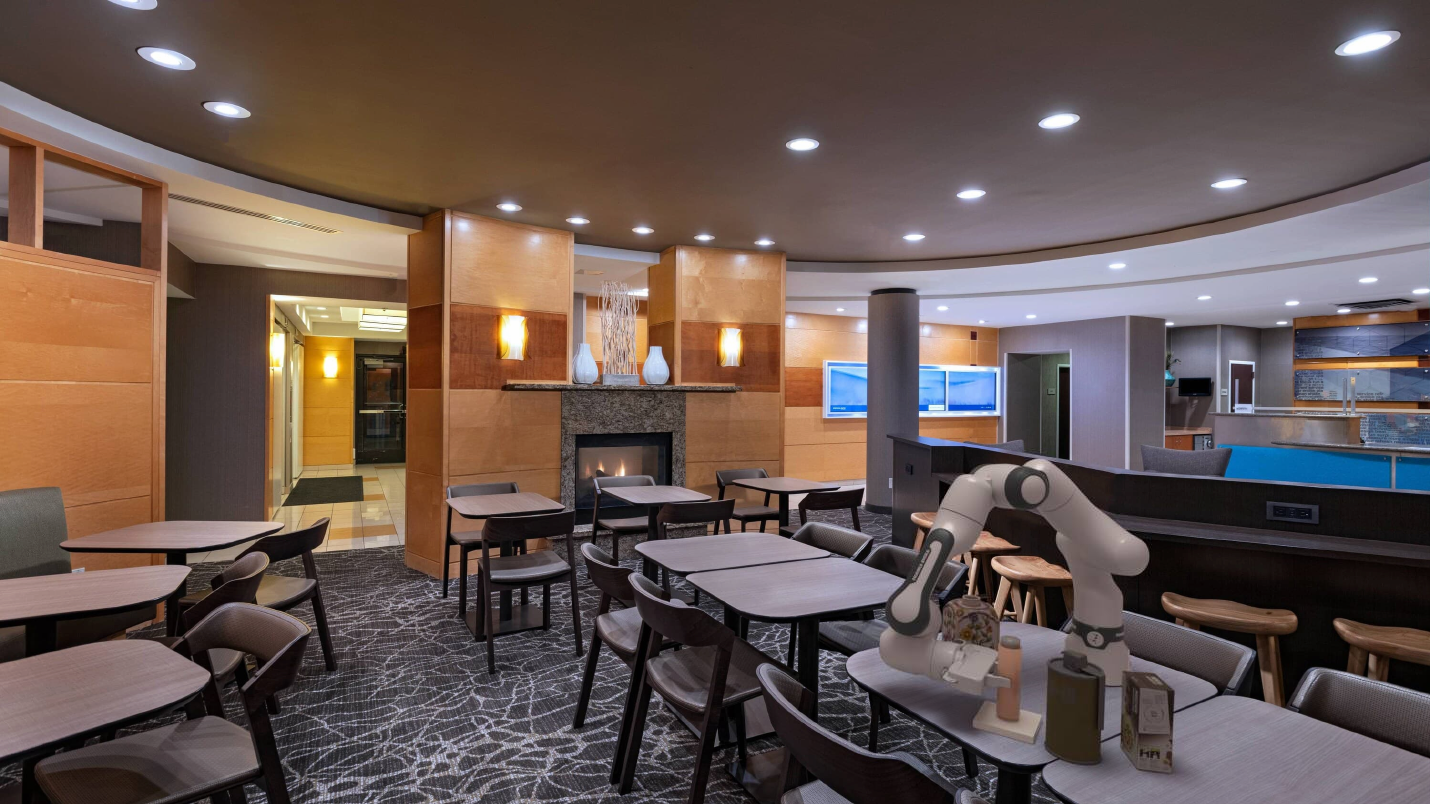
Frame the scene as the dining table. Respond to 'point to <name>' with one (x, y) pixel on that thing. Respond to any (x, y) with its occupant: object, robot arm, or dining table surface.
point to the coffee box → (1147, 721)
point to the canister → (1075, 708)
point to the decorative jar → (971, 622)
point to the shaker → (1009, 668)
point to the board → (1008, 723)
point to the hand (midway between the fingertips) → (1013, 678)
